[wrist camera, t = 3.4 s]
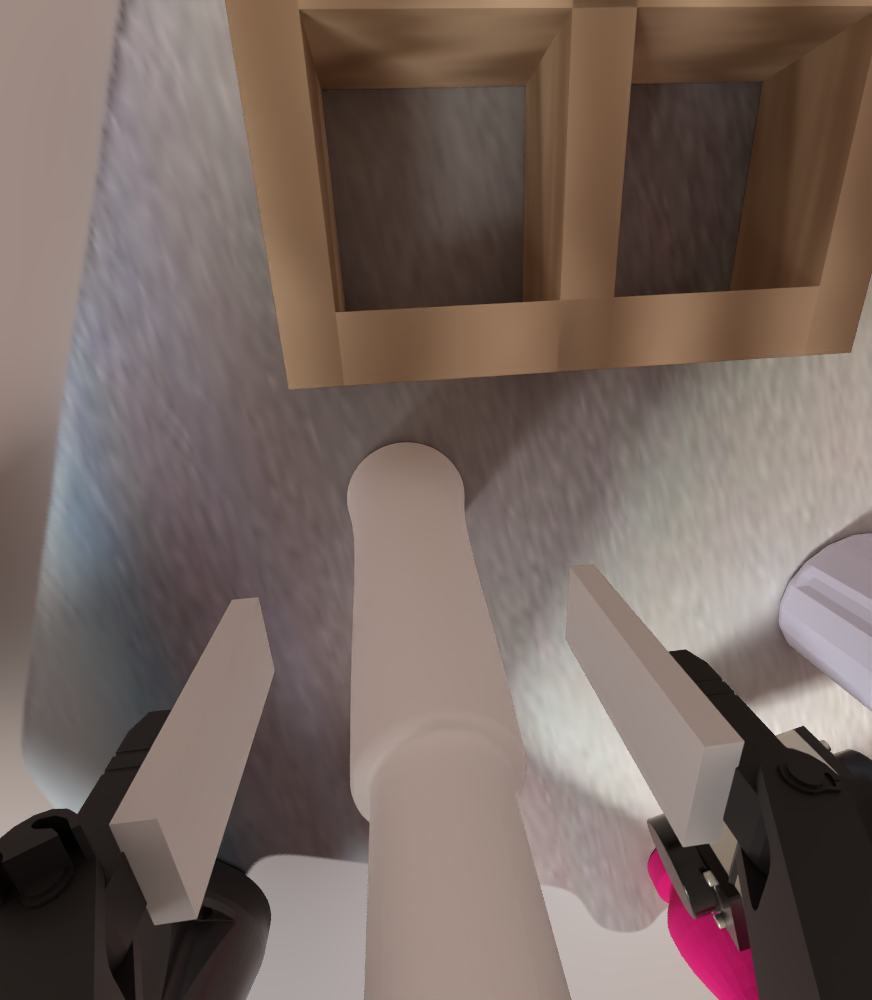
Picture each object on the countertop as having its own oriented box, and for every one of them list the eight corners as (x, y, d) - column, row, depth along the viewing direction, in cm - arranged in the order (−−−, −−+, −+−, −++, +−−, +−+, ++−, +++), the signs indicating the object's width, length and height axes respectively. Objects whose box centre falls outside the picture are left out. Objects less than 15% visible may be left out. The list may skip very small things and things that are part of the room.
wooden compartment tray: (309, 374, 22) (287, 390, 17) (255, 4, 17) (201, -127, 12) (757, 346, 23) (858, 352, 18) (823, 1, 18) (982, -115, 14)
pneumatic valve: (597, 720, 31) (714, 941, 20) (765, 660, 31) (978, 852, 20) (614, 773, 33) (729, 1001, 22) (771, 718, 33) (968, 921, 22)
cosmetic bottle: (332, 532, 25) (75, 1586, 4) (368, 424, 23) (215, 1368, 2) (439, 562, 26) (647, 1480, 5) (481, 463, 24) (1031, 1281, 4)
